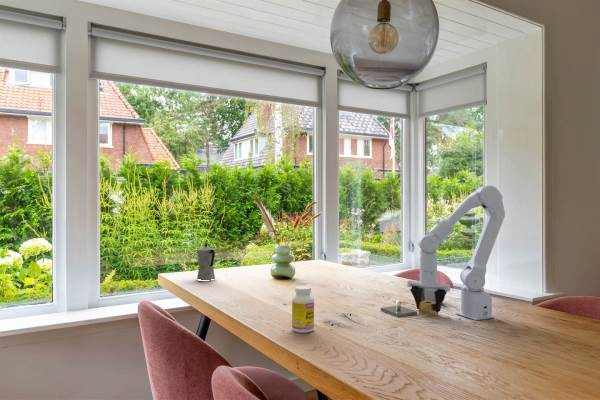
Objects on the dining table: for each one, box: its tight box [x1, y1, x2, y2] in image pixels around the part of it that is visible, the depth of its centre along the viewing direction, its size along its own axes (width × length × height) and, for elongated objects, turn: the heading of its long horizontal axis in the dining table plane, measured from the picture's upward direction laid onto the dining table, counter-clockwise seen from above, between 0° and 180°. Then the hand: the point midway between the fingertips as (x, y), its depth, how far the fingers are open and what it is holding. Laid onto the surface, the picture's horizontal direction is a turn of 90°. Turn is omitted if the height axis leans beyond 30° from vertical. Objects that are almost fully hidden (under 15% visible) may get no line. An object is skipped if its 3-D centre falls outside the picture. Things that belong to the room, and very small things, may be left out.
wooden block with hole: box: [418, 300, 439, 317], centre depth 154 cm, size 5×5×4 cm
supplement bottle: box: [291, 285, 315, 334], centre depth 135 cm, size 7×7×13 cm
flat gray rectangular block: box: [380, 300, 418, 318], centre depth 156 cm, size 10×8×4 cm
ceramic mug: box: [421, 287, 446, 303], centre depth 172 cm, size 11×8×8 cm
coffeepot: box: [196, 243, 216, 280], centre depth 219 cm, size 15×9×18 cm, turn 37°
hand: (428, 309), depth 154 cm, fingers closed on wooden block with hole, 6 cm apart
